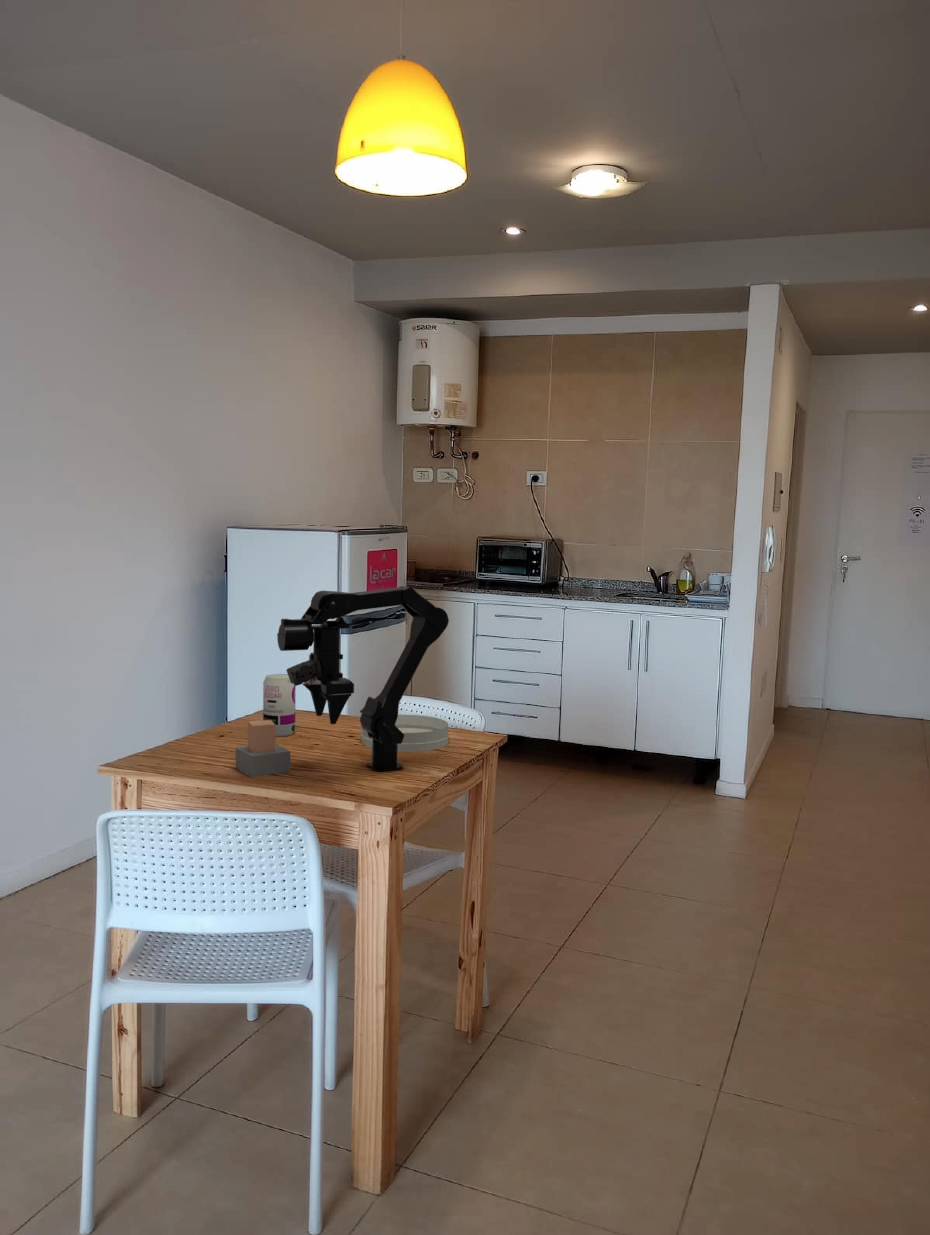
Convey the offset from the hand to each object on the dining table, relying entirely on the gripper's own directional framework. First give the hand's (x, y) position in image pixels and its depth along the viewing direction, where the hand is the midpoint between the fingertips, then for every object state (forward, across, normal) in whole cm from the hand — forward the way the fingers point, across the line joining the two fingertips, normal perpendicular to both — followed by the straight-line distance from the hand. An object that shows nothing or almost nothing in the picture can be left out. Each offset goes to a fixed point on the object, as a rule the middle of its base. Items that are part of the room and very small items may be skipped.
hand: (326, 719), depth 214 cm
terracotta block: (+7, -8, -12) cm, 16 cm away
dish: (+12, -22, +29) cm, 38 cm away
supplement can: (+12, -42, +2) cm, 44 cm away
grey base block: (+12, -8, -12) cm, 19 cm away
